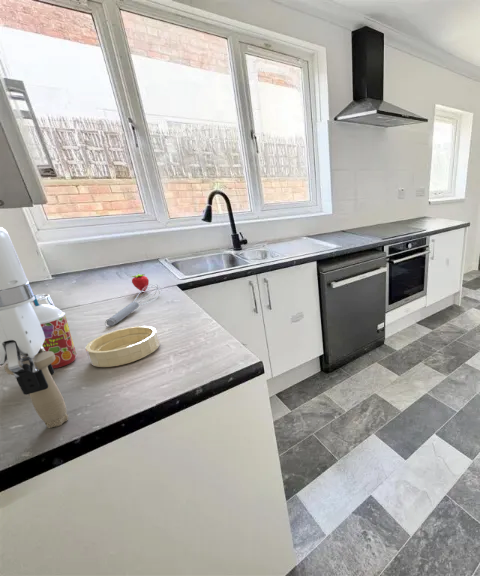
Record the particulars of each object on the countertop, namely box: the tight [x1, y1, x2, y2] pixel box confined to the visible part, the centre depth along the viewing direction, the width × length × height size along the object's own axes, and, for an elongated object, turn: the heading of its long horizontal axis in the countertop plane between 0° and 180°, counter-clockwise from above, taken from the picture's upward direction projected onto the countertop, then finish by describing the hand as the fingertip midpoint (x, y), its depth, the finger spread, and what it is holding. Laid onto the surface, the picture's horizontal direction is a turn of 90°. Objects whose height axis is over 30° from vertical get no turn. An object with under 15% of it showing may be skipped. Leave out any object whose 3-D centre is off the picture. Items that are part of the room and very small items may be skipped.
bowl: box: [84, 325, 161, 368], centre depth 88 cm, size 16×16×5 cm
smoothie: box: [32, 294, 77, 369], centre depth 82 cm, size 8×8×20 cm
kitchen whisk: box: [104, 283, 163, 328], centre depth 119 cm, size 6×34×6 cm, turn 9°
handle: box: [3, 351, 69, 429], centre depth 61 cm, size 5×6×15 cm
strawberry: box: [130, 272, 150, 292], centre depth 139 cm, size 6×8×10 cm
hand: (40, 382), depth 60 cm, fingers closed on handle, 5 cm apart
